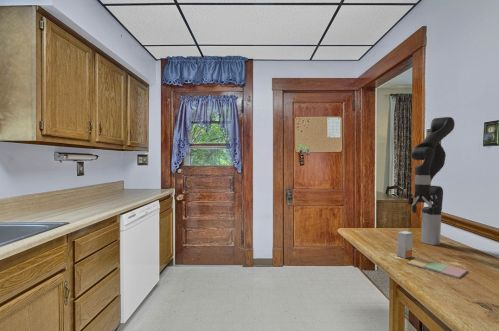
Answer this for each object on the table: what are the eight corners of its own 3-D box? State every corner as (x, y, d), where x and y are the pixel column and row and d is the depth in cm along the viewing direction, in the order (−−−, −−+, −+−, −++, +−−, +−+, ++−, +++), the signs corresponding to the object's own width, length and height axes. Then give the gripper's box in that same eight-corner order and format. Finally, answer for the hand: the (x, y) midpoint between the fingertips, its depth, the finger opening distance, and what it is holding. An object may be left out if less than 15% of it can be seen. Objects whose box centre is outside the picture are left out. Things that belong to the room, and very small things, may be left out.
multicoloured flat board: (417, 258, 137) (417, 256, 137) (467, 271, 122) (467, 270, 122) (406, 263, 130) (406, 262, 130) (459, 278, 114) (459, 277, 114)
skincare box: (404, 258, 137) (405, 234, 136) (396, 255, 141) (397, 231, 140) (412, 256, 140) (413, 232, 139) (404, 254, 143) (405, 230, 143)
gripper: (440, 184, 150) (440, 215, 149) (413, 183, 162) (413, 211, 162) (432, 184, 146) (432, 215, 146) (405, 183, 158) (405, 212, 158)
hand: (422, 213), depth 154 cm, fingers open, 8 cm apart
